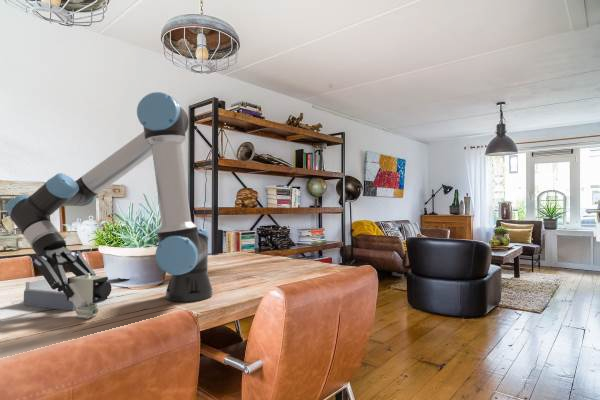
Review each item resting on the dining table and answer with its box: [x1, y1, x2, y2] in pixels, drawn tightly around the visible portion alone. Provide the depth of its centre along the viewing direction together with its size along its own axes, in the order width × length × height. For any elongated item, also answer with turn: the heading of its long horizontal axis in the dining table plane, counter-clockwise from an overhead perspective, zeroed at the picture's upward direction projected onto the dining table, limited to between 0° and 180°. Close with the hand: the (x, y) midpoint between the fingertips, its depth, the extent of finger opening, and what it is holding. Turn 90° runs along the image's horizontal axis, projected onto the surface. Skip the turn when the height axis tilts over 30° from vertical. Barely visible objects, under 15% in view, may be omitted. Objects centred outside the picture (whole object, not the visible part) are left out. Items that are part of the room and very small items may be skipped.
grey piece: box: [23, 277, 106, 312], centre depth 114 cm, size 22×12×7 cm, turn 75°
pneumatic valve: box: [67, 273, 112, 320], centre depth 100 cm, size 6×12×12 cm, turn 77°
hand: (90, 301), depth 100 cm, fingers open, 5 cm apart
